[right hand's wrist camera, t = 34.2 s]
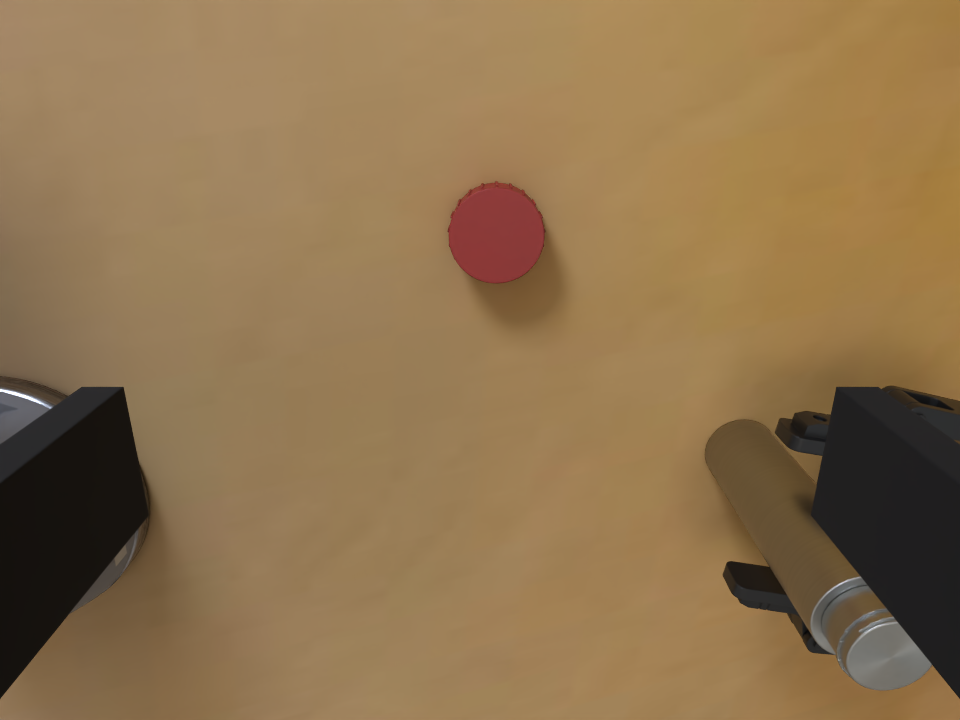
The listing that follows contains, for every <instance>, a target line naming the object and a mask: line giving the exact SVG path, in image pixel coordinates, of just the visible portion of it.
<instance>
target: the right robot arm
mask: <svg viewBox="0 0 960 720" xmlns="http://www.w3.org/2000/svg"><path fill="white" fill-rule="evenodd" d="M811 516H812V517H813V519H814V520H815V521H816V522H817V524H818V525H819V526H820V527H821V528H822V530H823V531H824V532H825V533H826V535H827V536H828V537H829V538H830V540H831V541H832V542H833V543H834V544H835V546H836V547H837V548H838V549H839V551H840V552H841V553H842V554H843V556H844V557H845V558H846V559H847V560H848V562H849V563H850V564H851V565H852V567H853V568H854V569H855V570H856V572H857V573H858V574H859V575H860V576H861V578H862V579H863V580H864V581H865V583H866V584H867V585H868V586H869V588H870V589H871V590H872V591H873V592H874V594H875V595H876V596H877V597H878V599H879V600H880V601H881V602H882V604H883V605H884V606H885V607H886V608H887V610H888V611H889V612H890V613H891V615H892V616H893V617H894V618H895V620H896V621H897V622H898V623H899V624H900V626H901V627H902V628H903V629H904V631H905V632H906V633H907V634H908V636H909V637H910V638H911V639H912V640H913V642H914V643H915V644H916V645H917V647H918V648H919V649H920V650H921V652H922V653H923V654H924V655H925V657H926V658H927V659H928V660H929V661H930V663H931V664H932V665H933V666H934V668H935V669H936V670H937V671H938V673H939V674H940V675H941V676H942V677H943V679H944V680H945V681H946V682H947V684H948V685H949V686H950V687H951V689H952V690H953V691H954V692H955V693H956V695H957V696H958V697H959V698H960V444H959V443H957V442H956V441H954V440H953V439H952V438H950V437H949V436H947V435H946V434H944V433H943V432H942V431H940V430H939V429H937V428H936V427H934V426H933V425H932V424H930V423H929V422H927V421H926V420H924V419H923V418H922V417H920V416H919V415H917V414H916V413H914V412H913V411H912V410H910V409H909V408H907V407H906V406H905V405H903V404H902V403H900V402H899V401H897V400H896V399H895V398H893V397H892V396H890V395H889V394H887V393H886V392H885V391H883V390H882V389H880V388H879V387H836V392H835V397H834V402H833V407H832V412H831V417H830V422H829V427H828V432H827V437H826V442H825V447H824V452H823V457H822V462H821V467H820V472H819V477H818V482H817V487H816V491H815V496H814V501H813V506H812V511H811ZM148 522H149V501H148V494H147V490H146V486H145V482H144V479H143V477H142V474H141V472H140V467H139V462H138V457H137V452H136V447H135V442H134V437H133V432H132V427H131V422H130V417H129V412H128V407H127V402H126V397H125V392H124V387H81V388H80V389H78V390H77V391H75V392H74V393H73V394H71V395H70V396H66V395H64V394H62V393H60V392H58V391H56V390H53V389H51V388H48V387H46V386H43V385H40V384H37V383H33V382H30V381H25V380H21V379H16V378H9V377H0V698H1V697H2V696H3V695H4V693H5V692H6V691H7V690H8V689H9V687H10V686H11V685H12V684H13V682H14V681H15V680H16V679H17V677H18V676H19V675H20V674H21V673H22V671H23V670H24V669H25V668H26V666H27V665H28V664H29V663H30V661H31V660H32V659H33V658H34V657H35V655H36V654H37V653H38V652H39V650H40V649H41V648H42V647H43V645H44V644H45V643H46V642H47V640H48V639H49V638H50V637H51V636H52V634H53V633H54V632H55V631H56V629H57V628H58V627H59V626H60V624H61V623H62V622H63V621H64V620H65V618H66V617H67V616H68V615H69V614H70V613H72V612H73V611H75V610H77V609H78V608H80V607H81V606H83V605H85V604H86V603H88V602H90V601H91V600H93V599H94V598H96V597H97V596H99V595H100V594H101V593H103V592H104V591H106V590H107V589H108V588H109V587H110V586H111V585H113V584H114V583H115V581H116V580H117V579H118V578H119V577H120V576H121V575H122V573H123V572H124V571H125V569H126V568H127V567H128V566H129V564H130V563H131V562H132V560H133V559H134V558H135V556H136V555H137V553H138V552H139V550H140V548H141V546H142V544H143V541H144V539H145V536H146V532H147V528H148Z"/></svg>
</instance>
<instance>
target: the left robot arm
mask: <svg viewBox="0 0 960 720" xmlns="http://www.w3.org/2000/svg"><path fill="white" fill-rule="evenodd" d="M882 390H883V391H885V392H886V393H887V394H889V395H890V396H892V397H893V398H895V399H896V400H897V401H899V402H900V403H902V404H903V405H905V406H906V407H907V408H909V409H910V410H912V411H913V412H914V413H916V414H917V415H919V416H920V417H922V418H923V419H924V420H926V421H927V422H929V423H930V424H932V425H933V426H934V427H936V428H937V429H939V430H940V431H942V432H943V433H944V434H946V435H947V436H949V437H950V438H952V439H953V440H954V441H956V442H957V443H959V444H960V401H957V400H953V399H948V398H944V397H940V396H935V395H931V394H927V393H922V392H918V391H913V390H909V389H905V388H900V387H896V386H887V387H885V388H883V389H882ZM830 417H831V415H828V414H827V415H826V414H822V413H816V412H809V411H803V412H798V413H795V414H794V417H793V419H786V418H780V419H779V422H778V425H777V427H776V430H775V434H776V435H777V436H778V437H779V438H780V439H781V440H782V442H783V443H784V444H785V445H786V446H787V447H788V448H790V449H792V450H794V451H797V452H802V453H808V454H815V455H821V456H823V452H824V447H825V442H826V437H827V432H828V427H829V422H830ZM723 577H724V579H725V581H726V583H727V585H728V587H729V589H730V591H731V593H732V594H733V595H734V596H735V597H737V598H738V600H739V602H740V603H741V604H743V605H745V606H747V607H750V608H756V609H758V608H760V609H763V610H766V609H767V610H770V611H777V612H784V613H787V614H788V617H789V618H790V620H791V622H792V623H793V624H794V626H795V627H796V629H797V631H798V632H799V634H800V636H801V637H802V639H803V642H804V644H805V645H806V647H807V649H808V650H809V651H810V652H813V653H820V654H831V655H834V654H832V653H830V652H828V651H826V650H824V649H823V648H822V647H820V646H819V645H818V644H817V642H816V641H815V640H814V638H813V636H812V635H811V633H810V632H809V630H808V628H807V627H806V625H805V623H804V622H803V620H802V619H801V617H800V615H799V614H798V612H797V610H796V609H795V607H794V606H793V604H792V602H791V601H790V599H789V597H788V596H787V594H786V592H785V591H784V589H783V588H782V586H781V584H780V583H779V581H778V579H777V578H776V576H775V575H774V573H773V571H772V570H771V568H770V567H766V566H760V565H753V564H746V563H740V562H733V561H730V562H727V564H726V567H725V569H724V572H723Z"/></svg>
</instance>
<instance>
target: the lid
mask: <svg viewBox="0 0 960 720" xmlns="http://www.w3.org/2000/svg"><path fill="white" fill-rule="evenodd" d="M451 218H452V220H451V223H450V225H449V228H448V232H449V247H450V248H451V251H452V254H453V256H454V259H455V260H456V262H457V263H458V264H459V266H460V267H461V268H462V269H463V270H464V271H465V272H466V273H468V274H469V275H470V276H472V277H474V278H475V279H478V280H480V281H484V282H488V283H505V282H509V281H512V280H515V279H517V278H519V277H521V276H523V275H524V274H525V273H527V272H528V271H529V270H530V269H531V268H532V267H533V266H534V264H535V263H536V261H537V260H538V258H539V256H540V254H541V252H542V248H543V247H544V233H545V229H544V226H543V222H542V218H543V217H542V215H541V213H540V211H539V212H538V210H537V208H536V204H535V202H534V200H533V199H532V200H531V199H530V198H529V197H528V196H527V195H526V194H525V192H524V190H523V189H522V191H521V190H520V189H518V188H516V187H514V186H512V184H510V183H509V185H508V184H503V183H498V182H497V181H495V183H489V184H485V185H484V184H481V186H479V187H477V188H475V189H473V190H471V189H470V190H469V192H468V193H467V194H466V195H465V196H464V197H463V198H462V199H459V201H458V205H457V207H456V209H455V211H453V212H452V215H451Z"/></svg>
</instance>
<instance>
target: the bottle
mask: <svg viewBox="0 0 960 720" xmlns="http://www.w3.org/2000/svg"><path fill="white" fill-rule="evenodd" d="M705 459H706V463H707V465H708V467H709V469H710V471H711V472H712V474H713V475H714V477H715V479H716V480H717V482H718V484H719V485H720V487H721V488H722V490H723V492H724V493H725V495H726V497H727V498H728V500H729V501H730V503H731V505H732V506H733V508H734V510H735V511H736V513H737V514H738V516H739V518H740V519H741V521H742V523H743V524H744V526H745V527H746V529H747V531H748V532H749V534H750V536H751V537H752V539H753V540H754V542H755V544H756V545H757V547H758V549H759V550H760V552H761V553H762V555H763V557H764V558H765V560H766V562H767V563H768V565H769V566H770V568H771V570H772V571H773V573H774V575H775V576H776V578H777V579H778V581H779V583H780V584H781V586H782V588H783V589H784V591H785V592H786V594H787V596H788V597H789V599H790V601H791V602H792V604H793V606H794V607H795V609H796V610H797V612H798V614H799V615H800V617H801V619H802V620H803V622H804V623H805V625H806V627H807V628H808V630H809V632H810V633H811V635H812V636H813V638H814V640H815V641H816V642H817V644H818V645H819V646H820V647H822V648H823V649H824V650H826V651H828V652H830V653H832V654H834V655H836V658H837V661H838V663H839V665H840V667H841V668H842V670H843V671H844V672H845V673H846V674H847V675H848V676H849V677H851V678H852V679H853V680H854V681H855V682H857V683H858V684H860V685H861V686H864V687H866V688H869V689H873V690H893V689H898V688H901V687H904V686H907V685H909V684H911V683H913V682H915V681H916V680H918V679H919V678H921V677H922V676H923V675H924V674H925V673H926V672H927V671H928V670H929V668H930V667H931V666H932V664H931V663H930V661H929V660H928V659H927V658H926V657H925V655H924V654H923V653H922V652H921V650H920V649H919V648H918V647H917V645H916V644H915V643H914V642H913V640H912V639H911V638H910V637H909V636H908V634H907V633H906V632H905V631H904V629H903V628H902V627H901V626H900V624H899V623H898V622H897V621H896V620H895V618H894V617H893V616H892V615H891V613H890V612H889V611H888V610H887V608H886V607H885V606H884V605H883V604H882V602H881V601H880V600H879V599H878V597H877V596H876V595H875V594H874V592H873V591H872V590H871V589H870V588H869V586H868V585H867V584H866V583H865V581H864V580H863V579H862V578H861V576H860V575H859V574H858V573H857V572H856V570H855V569H854V568H853V567H852V565H851V564H850V563H849V562H848V560H847V559H846V558H845V557H844V556H843V554H842V553H841V552H840V551H839V549H838V548H837V547H836V546H835V544H834V543H833V542H832V541H831V540H830V538H829V537H828V536H827V535H826V533H825V532H824V531H823V530H822V528H821V527H820V526H819V525H818V524H817V522H816V521H815V520H814V519H813V517H812V516H811V511H812V506H813V501H814V496H815V491H816V487H817V484H816V483H815V482H814V481H813V480H812V479H811V478H810V476H809V475H808V474H807V473H806V472H805V471H804V469H803V468H802V467H801V466H800V465H799V464H798V463H797V461H796V460H795V459H794V458H793V457H792V456H791V455H790V453H789V452H788V451H787V450H786V449H785V448H784V447H783V445H782V444H781V443H780V442H779V441H778V440H777V439H776V437H775V436H774V435H773V434H772V433H771V432H770V431H769V429H767V428H766V427H765V426H764V425H762V424H760V423H758V422H755V421H751V420H737V421H733V422H730V423H728V424H726V425H724V426H722V427H721V428H719V429H718V430H717V431H716V432H715V433H714V434H713V435H712V436H711V438H710V439H709V441H708V443H707V446H706V450H705Z"/></svg>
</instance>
